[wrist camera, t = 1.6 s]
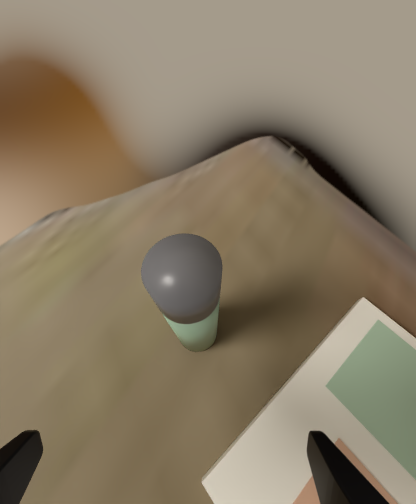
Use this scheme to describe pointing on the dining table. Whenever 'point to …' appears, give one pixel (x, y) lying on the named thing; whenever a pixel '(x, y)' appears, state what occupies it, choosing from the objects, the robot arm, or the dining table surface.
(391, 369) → the white flat board
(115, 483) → the dining table surface
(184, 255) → the marker
